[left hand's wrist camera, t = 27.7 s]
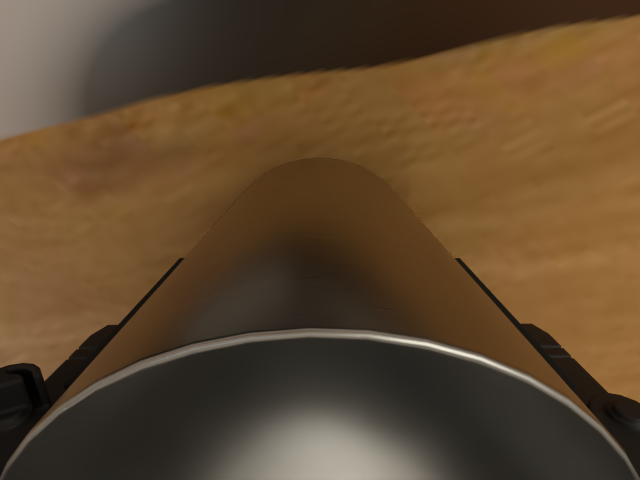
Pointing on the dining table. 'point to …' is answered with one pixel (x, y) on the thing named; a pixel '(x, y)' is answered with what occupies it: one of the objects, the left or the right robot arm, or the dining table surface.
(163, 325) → the tin
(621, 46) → the dining table surface
